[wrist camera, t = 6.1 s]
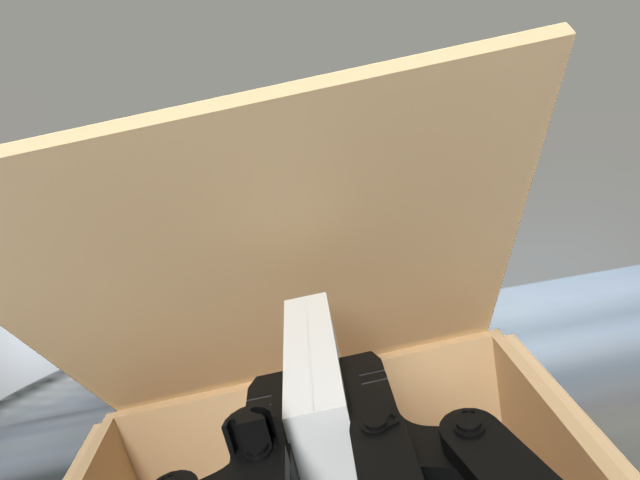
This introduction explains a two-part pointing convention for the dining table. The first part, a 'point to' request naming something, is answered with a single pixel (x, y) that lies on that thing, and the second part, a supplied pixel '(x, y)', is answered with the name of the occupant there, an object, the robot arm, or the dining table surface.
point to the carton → (412, 402)
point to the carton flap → (276, 218)
